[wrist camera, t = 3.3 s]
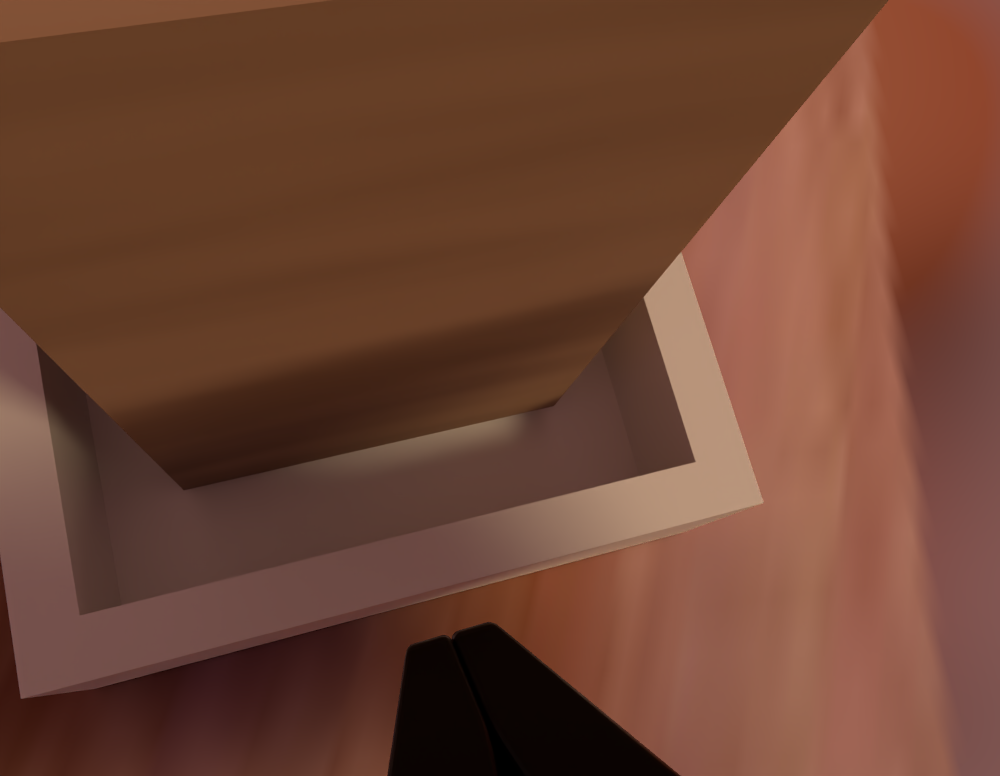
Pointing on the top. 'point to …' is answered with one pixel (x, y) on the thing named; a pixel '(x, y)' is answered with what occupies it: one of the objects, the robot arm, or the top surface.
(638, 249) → the walnut block
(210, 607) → the box
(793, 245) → the top surface
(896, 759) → the top surface
